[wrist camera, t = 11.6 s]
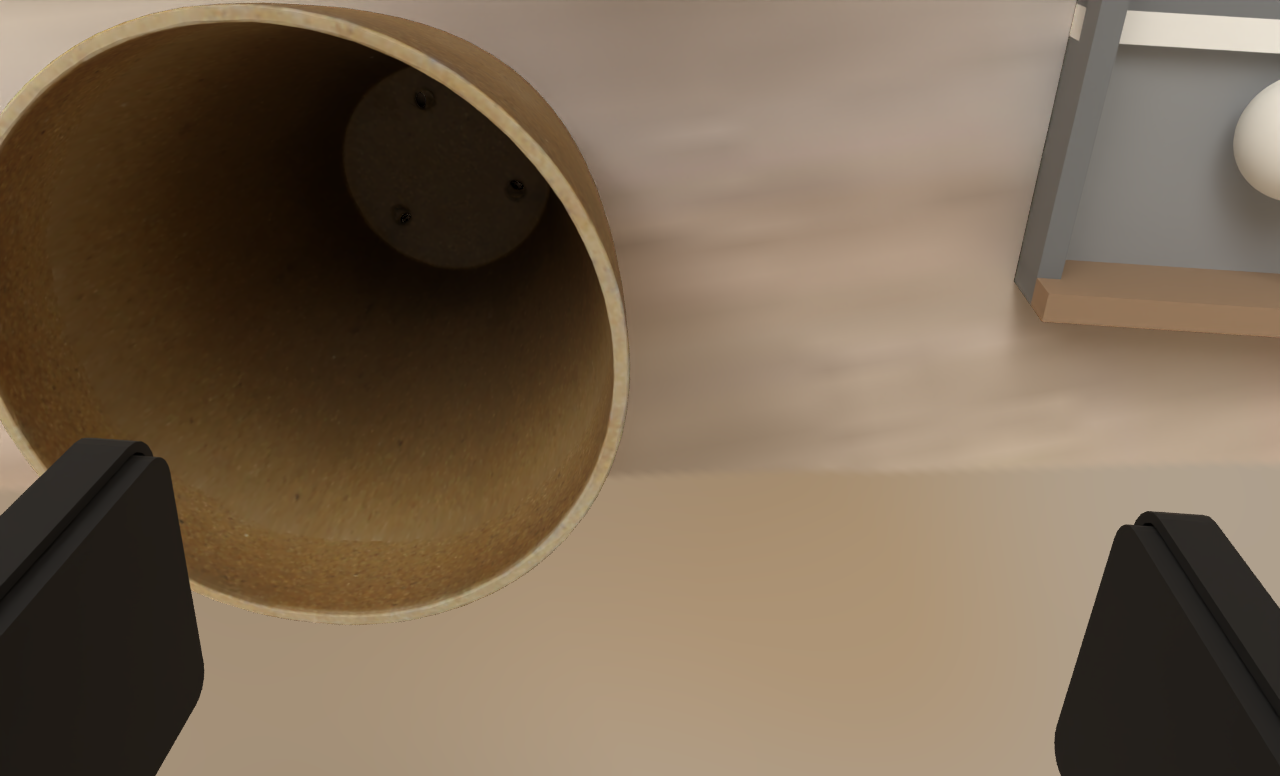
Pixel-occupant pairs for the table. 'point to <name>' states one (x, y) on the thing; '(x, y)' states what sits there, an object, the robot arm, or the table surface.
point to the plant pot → (315, 301)
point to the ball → (1260, 142)
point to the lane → (1156, 173)
